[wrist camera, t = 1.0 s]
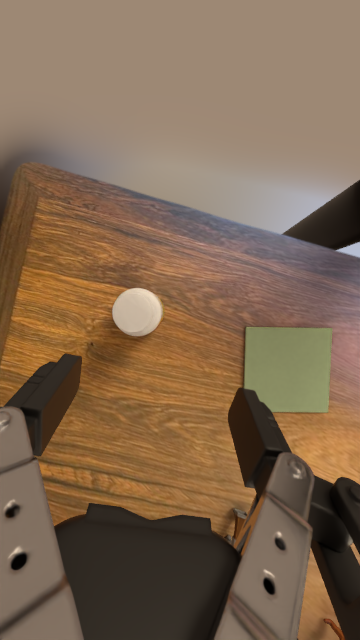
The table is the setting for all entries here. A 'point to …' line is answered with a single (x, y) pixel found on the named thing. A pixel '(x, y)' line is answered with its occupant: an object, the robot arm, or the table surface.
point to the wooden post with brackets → (237, 525)
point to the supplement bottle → (138, 312)
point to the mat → (289, 367)
